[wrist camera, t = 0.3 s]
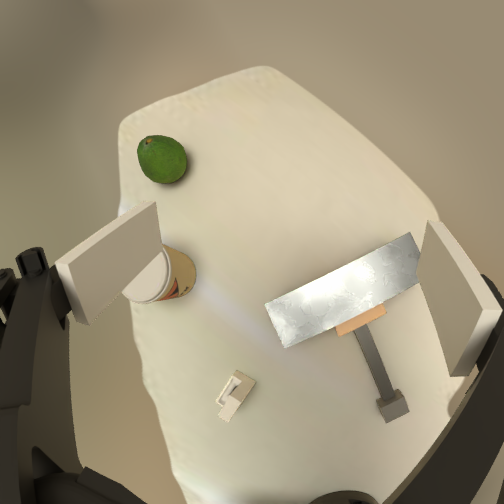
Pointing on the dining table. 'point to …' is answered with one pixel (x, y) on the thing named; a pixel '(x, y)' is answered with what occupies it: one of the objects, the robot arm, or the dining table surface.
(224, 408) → the white angled block
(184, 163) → the avocado
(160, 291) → the coffee cup
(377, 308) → the plug
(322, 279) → the housing
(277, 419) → the dining table surface
